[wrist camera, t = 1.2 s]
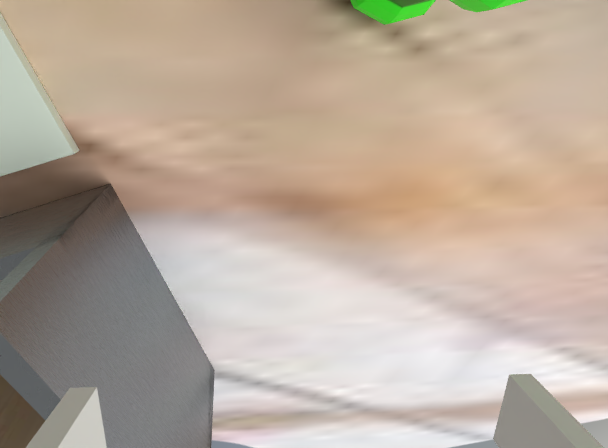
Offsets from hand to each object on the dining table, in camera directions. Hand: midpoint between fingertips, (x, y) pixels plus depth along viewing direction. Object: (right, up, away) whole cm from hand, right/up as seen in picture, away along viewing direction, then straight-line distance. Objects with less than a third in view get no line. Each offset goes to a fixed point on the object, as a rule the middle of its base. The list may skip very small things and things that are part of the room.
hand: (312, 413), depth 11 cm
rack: (-25, -5, +29) cm, 38 cm away
